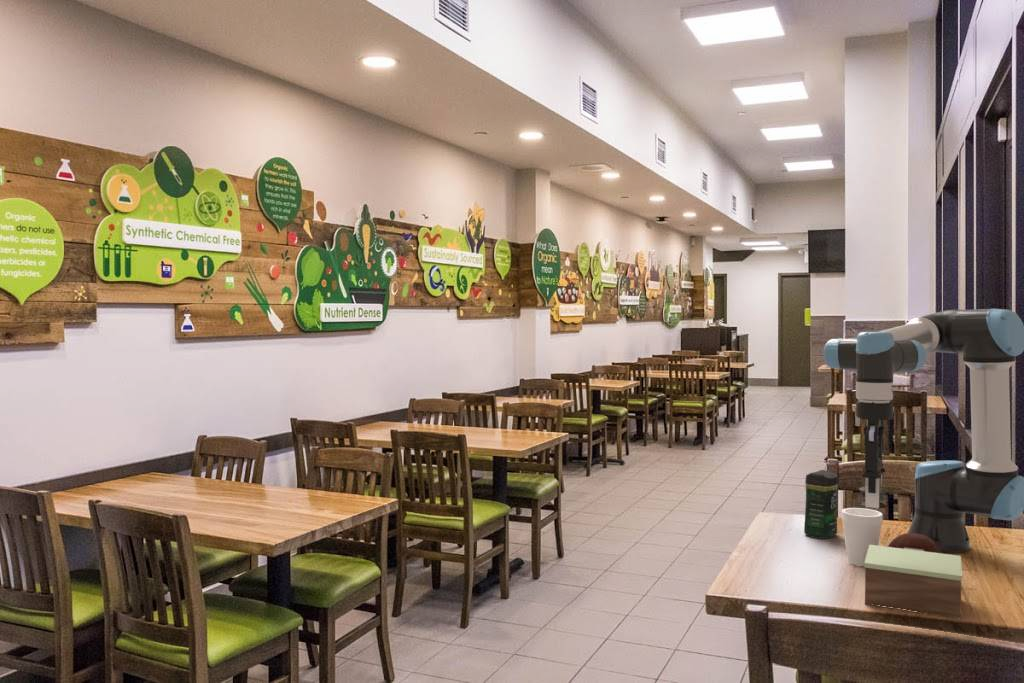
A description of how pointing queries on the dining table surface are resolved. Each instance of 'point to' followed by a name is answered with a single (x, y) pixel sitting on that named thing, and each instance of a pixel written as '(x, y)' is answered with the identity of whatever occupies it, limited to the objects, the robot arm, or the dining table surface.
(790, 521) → the dining table surface
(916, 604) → the box
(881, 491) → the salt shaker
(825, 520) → the coffee jar
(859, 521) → the foam cup
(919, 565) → the lid
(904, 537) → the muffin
